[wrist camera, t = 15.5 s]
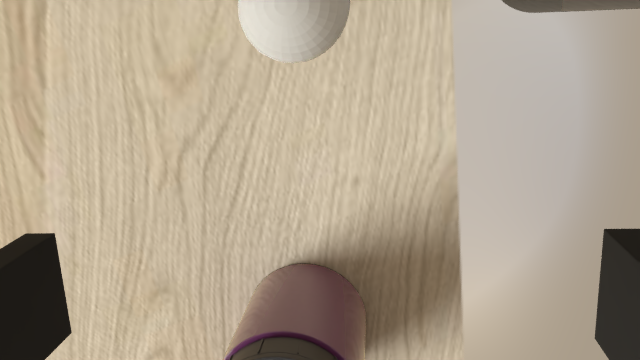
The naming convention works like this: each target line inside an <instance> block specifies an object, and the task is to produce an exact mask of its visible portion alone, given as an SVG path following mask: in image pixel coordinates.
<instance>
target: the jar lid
mask: <svg viewBox="0 0 640 360" xmlns="http://www.w3.org/2000/svg"><path fill="white" fill-rule="evenodd" d="M229 360H338V359H337V357H336V356H334V355H332V354H331V353H330V352H328V351H327V350H325V349H323V348H322V347H320V346H318V345H316V344H314V343H311V342H308V341H305V340H302V339H298V338H292V337H272V338H266V339H264V338H263V339H262V340H258V341H255V342H253V343H251V344H248V345H246V346H245V347H243V348H241V349H240V350H238V351H237V352H236V353H235V354H234V355H231V357H230V359H229Z"/></svg>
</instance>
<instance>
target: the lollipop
mask: <svg viewBox="0 0 640 360" xmlns="http://www.w3.org/2000/svg"><path fill="white" fill-rule="evenodd" d="M349 8H350V0H238V14H239V20H240V23H241V26H242V29H243V31H244V33H245V35H246V37H247V39H248V40H249V41H250V43H251V44H252V45H253V46H254V47H255V48H256V49H257V50H258V51H259V52H261V53H262V54H263V55H265V56H267V57H269V58H271V59H273V60H277V61H280V62H285V63H299V62H305V61H308V60H311V59H314V58H316V57H318V56H320V55H321V54H323V53H325V52H326V51H327V50H328V49H329V48H330V47H331V46H333V44H334V43H335V42H336V41H337V39H338V38H339V37H340V35H341V33H342V31H343V29H344V27H345V25H346V22H347V19H348V15H349Z"/></svg>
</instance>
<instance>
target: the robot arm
mask: <svg viewBox="0 0 640 360" xmlns="http://www.w3.org/2000/svg"><path fill="white" fill-rule="evenodd" d="M597 307H598V308H597V319H596V330H595V339H596V341H597V342H598V344H599V345H600V347H601V348H602V350H603V351H604V353H605V354H606V356H607V357H608V358H609V360H640V229H604V236H603V248H602V259H601V271H600V283H599V294H598V306H597ZM71 333H72V332H71V327H70V321H69V315H68V309H67V303H66V297H65V291H64V285H63V279H62V274H61V268H60V262H59V256H58V250H57V244H56V238H55V233H46V234H24V235H23V236H21V237H19V238H18V239H16V240H14V241H13V242H11V243H10V244H8V245H6V246H5V247H3V248H1V249H0V360H45V359H46V358H47V357H48V356H49V355H50V354H51V353H52V352H53V351H54V350H55V349H56V348H57V347H58V346H59V345H60V344H61V343H62V342H63V341H64V340H65V339H66V338H67V337H68V336H69V335H70V334H71Z"/></svg>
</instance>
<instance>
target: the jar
mask: <svg viewBox="0 0 640 360" xmlns="http://www.w3.org/2000/svg"><path fill="white" fill-rule="evenodd" d="M272 337H292V338H298V339H302V340H305V341H308V342H311V343H314V344H316V345H318V346H320V347H322V348H323V349H325V350H327V351H328V352H330V353H331V354H332V355H334V356H336V357H337V359H338V360H365V338H366V312H365V308H364V304H363V302H362V299H361V297H360V295H359V294H358V292H357V291H356V289H355V288H354V287H353V285H352V284H351V283H350V282H349V281H348V280H347V279H345V278H344V277H343V276H341V275H340V274H338V273H337V272H335V271H333V270H331V269H328V268H326V267H322V266H319V265H313V264H294V265H289V266H286V267H283V268H280V269H278V270H276V271H274V272H272V273H271V274H269V275H268V276H267V277H266V278H264V279H263V280H262V281H261V283H260V284H259V285H258V286H257V288H256V289H255V291H254V293H253V295H252V297H251V299H250V301H249V304H248V306H247V308H246V310H245V312H244V314H243V316H242V319H241V321H240V323H239V325H238V327H237V329H236V332H235V334H234V336H233V338H232V340H231V342H230V345H229V347H228V349H227V351H226V353H225V355H224V357H223V360H229V359H230V357H231V355H234V354H235V353H236V352H237V351H238V350H240V349H241V348H243V347H245V346H246V345H248V344H251V343H253V342H255V341H258V340H262V339H263V338H264V339H266V338H272Z"/></svg>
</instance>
